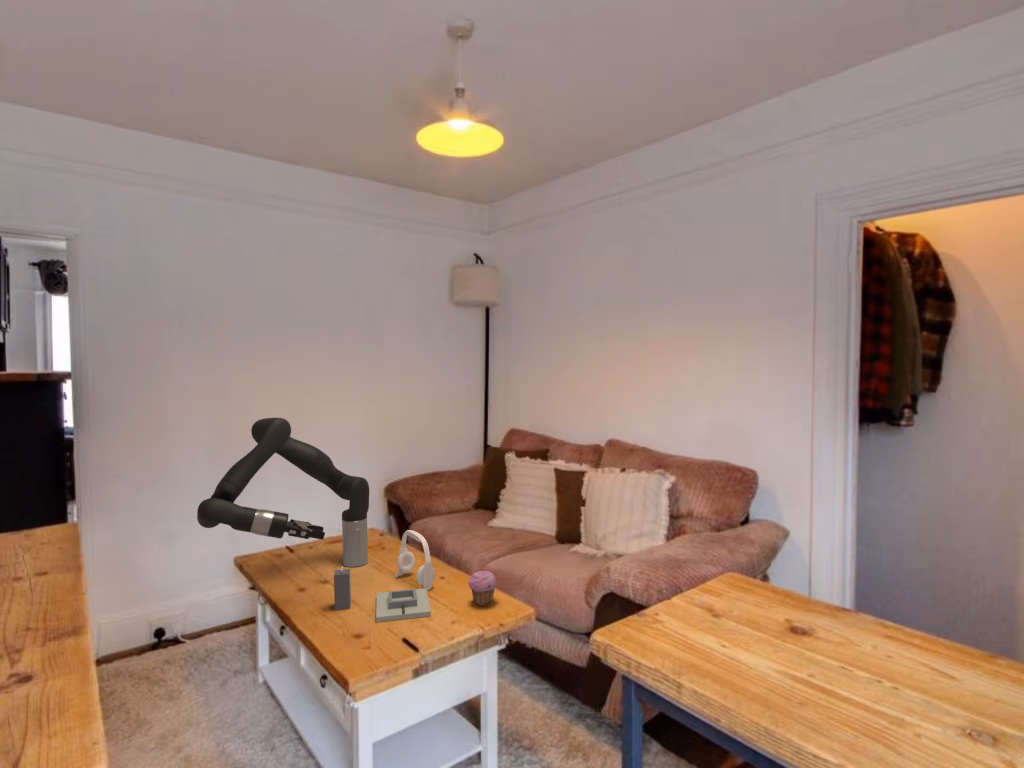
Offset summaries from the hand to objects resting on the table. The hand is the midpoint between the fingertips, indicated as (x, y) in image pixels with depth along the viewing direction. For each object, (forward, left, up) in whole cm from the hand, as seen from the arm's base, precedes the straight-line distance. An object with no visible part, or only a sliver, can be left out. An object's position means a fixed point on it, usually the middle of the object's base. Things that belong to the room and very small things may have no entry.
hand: (323, 533), depth 178 cm
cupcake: (-3, +49, -24) cm, 55 cm away
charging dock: (0, +24, -23) cm, 34 cm away
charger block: (0, +5, -24) cm, 24 cm away
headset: (-19, +24, -24) cm, 39 cm away
